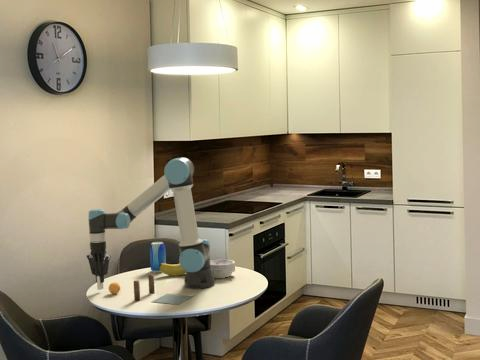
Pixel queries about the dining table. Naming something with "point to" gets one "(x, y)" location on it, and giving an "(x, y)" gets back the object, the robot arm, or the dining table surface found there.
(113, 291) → the ball
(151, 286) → the post
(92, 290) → the dining table surface
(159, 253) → the beer can
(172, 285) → the dining table surface
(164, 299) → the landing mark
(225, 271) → the paper bowls
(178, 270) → the banana
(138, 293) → the post
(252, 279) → the dining table surface
